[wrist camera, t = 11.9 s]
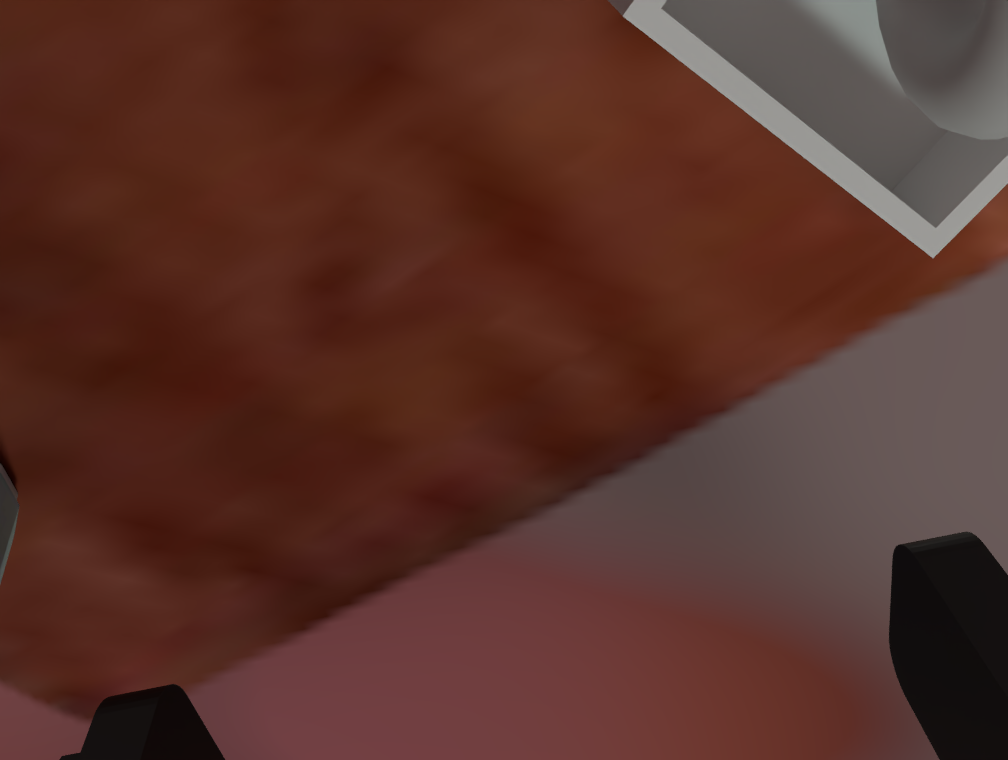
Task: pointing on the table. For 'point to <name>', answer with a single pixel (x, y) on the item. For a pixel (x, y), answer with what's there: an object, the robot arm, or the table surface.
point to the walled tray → (834, 103)
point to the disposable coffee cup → (7, 516)
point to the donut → (951, 61)
